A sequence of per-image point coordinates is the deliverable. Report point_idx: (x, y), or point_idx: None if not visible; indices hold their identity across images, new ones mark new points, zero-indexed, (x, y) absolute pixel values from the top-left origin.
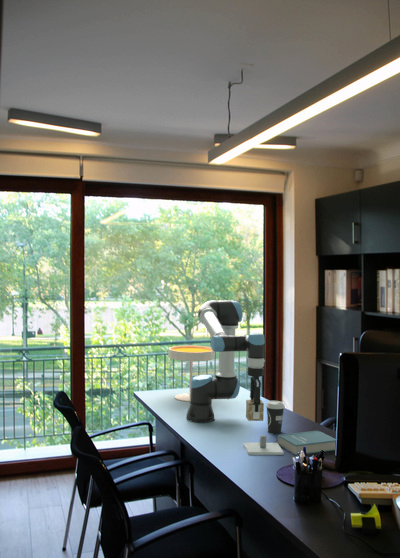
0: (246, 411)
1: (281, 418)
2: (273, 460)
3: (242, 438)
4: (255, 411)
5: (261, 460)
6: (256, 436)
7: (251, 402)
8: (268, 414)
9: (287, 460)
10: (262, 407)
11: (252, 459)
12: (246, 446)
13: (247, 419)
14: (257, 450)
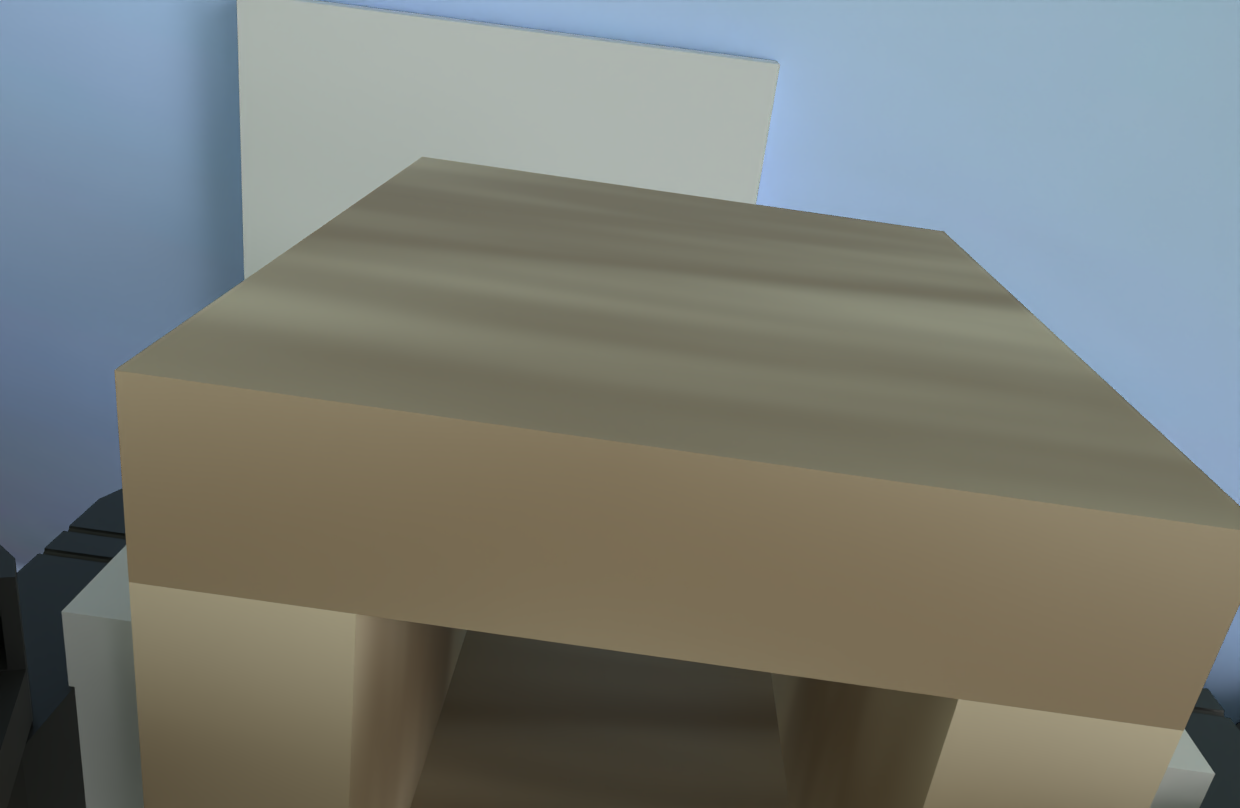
0: (891, 274)
1: None
2: (32, 335)
3: (1169, 158)
4: (117, 500)
5: (10, 152)
6: (1196, 443)
7: (360, 625)
8: None
9: (54, 519)
10: None
11: (39, 11)
12: (548, 59)
13: (581, 180)
14: (328, 201)
